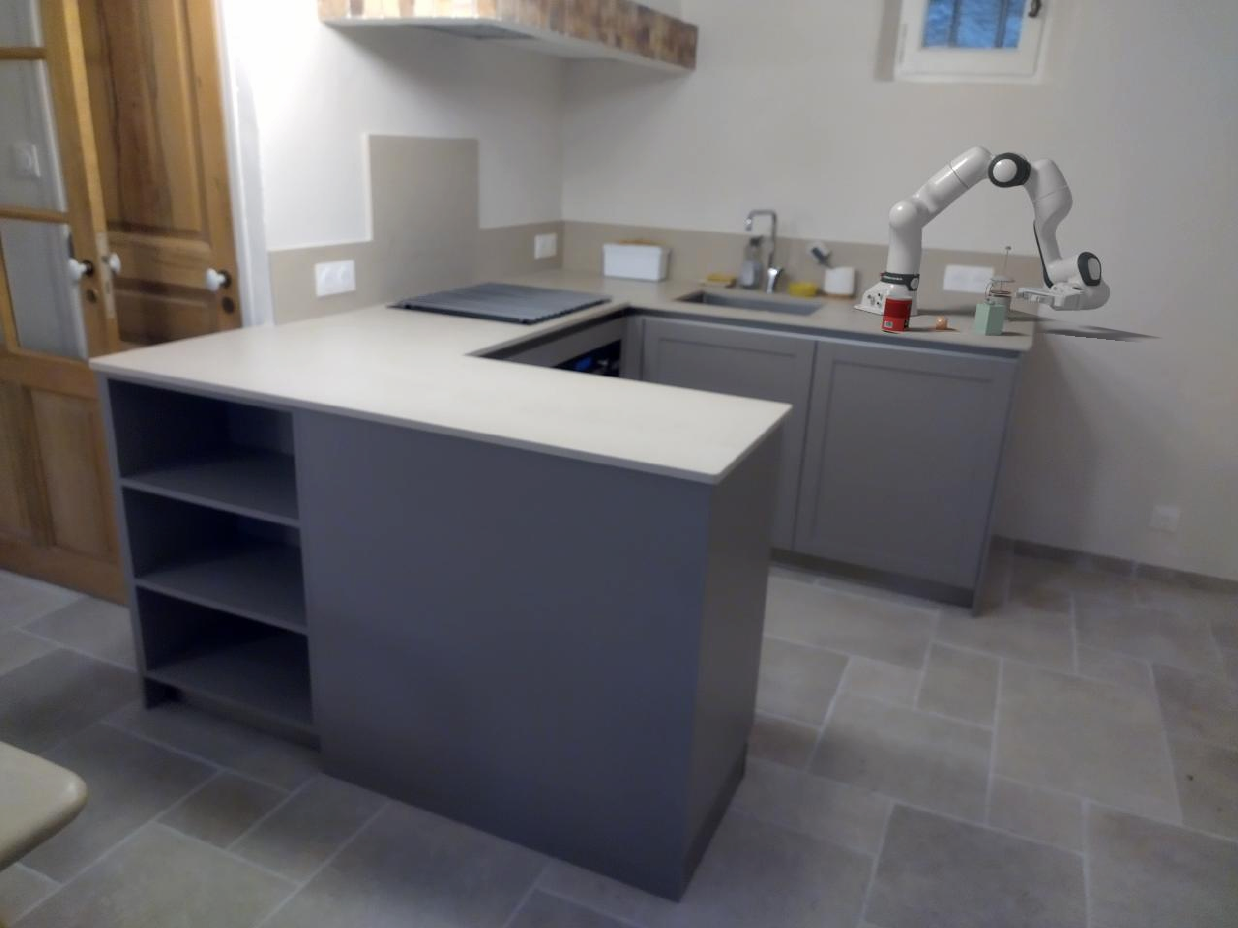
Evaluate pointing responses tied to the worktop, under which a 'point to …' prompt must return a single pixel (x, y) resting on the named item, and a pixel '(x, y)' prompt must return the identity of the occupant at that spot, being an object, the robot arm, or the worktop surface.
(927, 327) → the trivet
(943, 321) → the ball
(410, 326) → the worktop surface
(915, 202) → the robot arm
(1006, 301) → the french press
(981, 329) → the mint green square bottle
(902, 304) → the canned food
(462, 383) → the worktop surface
